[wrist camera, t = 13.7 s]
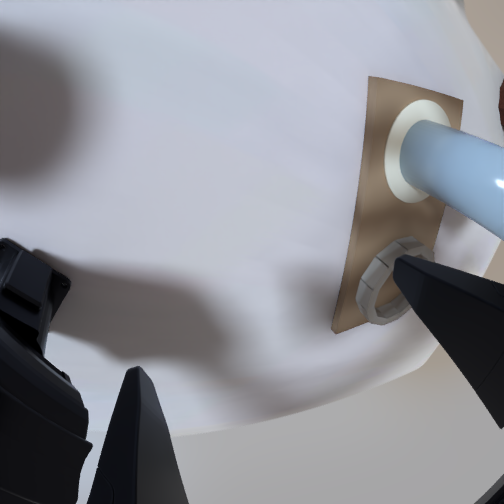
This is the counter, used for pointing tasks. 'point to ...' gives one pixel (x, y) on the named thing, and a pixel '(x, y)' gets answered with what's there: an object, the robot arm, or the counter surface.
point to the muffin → (501, 103)
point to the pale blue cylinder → (456, 171)
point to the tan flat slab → (389, 204)
